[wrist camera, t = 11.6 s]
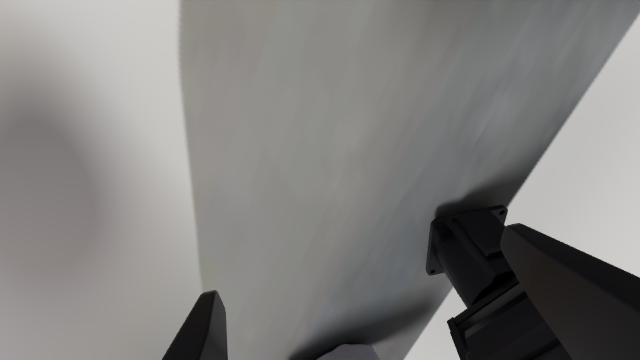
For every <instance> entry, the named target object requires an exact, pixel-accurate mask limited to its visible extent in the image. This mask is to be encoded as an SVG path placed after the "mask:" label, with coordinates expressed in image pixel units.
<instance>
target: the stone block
mask: <svg viewBox="0 0 640 360" xmlns="http://www.w3.org/2000/svg"><path fill="white" fill-rule="evenodd" d="M317 360H380V358H379V357H378V356H377V354H376V353H375V351H374V349H373V347H372V346H370V345H363V344H355V345H349V344H344V345H340V346H339V347H337V348H336V349H335V350H333V351H331V352H329V353H327V354H325V355H323V356H322V357H320V358H318V359H317Z"/></svg>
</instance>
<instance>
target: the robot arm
mask: <svg viewBox="0 0 640 360" xmlns="http://www.w3.org/2000/svg"><path fill="white" fill-rule="evenodd" d="M507 212H508V209H507V208H506V207H505V206H504V205H498V206H493V207H489V208H484V209H479V210H475V211H470V212H465V213H461V214H456V215H451V216H447V217H442V218H437V219H434V220H433V221H432V222H431V225H430V234H429V244H428V253H427V262H426V272H427V273H428V275H436V274H440V273H444V272H445V274H446V275H447V277H448V279H449V280H450V282H451V283H452V285H453V286H454V288H455V289H456V291H457V293H458V294H459V296H460V297H461V299H462V301H463V302H464V304H465V305H466V307H467V309H466V310H465V311H463V312H462V313H460V314H459V315H457V316H456V317H455V318H453V317H452V318H451V319H449V320H448V321H447V323H448V326H449V329H450V331H451V332H450V334H451V336H452V339H453V341H454V344H455V347H456V349H457V352H458V355H459V357H460V360H640V278H639V277H637V276H635V275H633V274H631V273H629V272H626V271H624V270H622V269H620V268H617V267H615V266H613V265H611V264H609V263H607V262H604V261H602V260H600V259H598V258H595V257H593V256H591V255H589V254H587V253H585V252H582V251H580V250H578V249H576V248H574V247H571V246H569V245H567V244H565V243H563V242H560V241H558V240H556V239H554V238H552V237H549V236H547V235H545V234H543V233H541V232H538V231H536V230H534V229H532V228H530V227H527V226H525V225H523V224H520V223H517V224H512V225H508V226H505V225H504V223H505V219H506V215H507ZM162 360H228V354H227V331H226V312H225V307H224V305H223V303H222V300H221V298H220V296H219V294H218V292H217V291H216V290H213V291H208V292H204V293H202V294H201V295H200V297H199V298H198V300H197V302H196V303H195V305H194V307H193V308H192V310H191V312H190V313H189V315H188V317H187V318H186V320H185V322H184V323H183V325H182V327H181V328H180V330H179V332H178V333H177V335H176V337H175V338H174V340H173V342H172V343H171V345H170V347H169V348H168V350H167V352H166V353H165V355H164V357H163V358H162Z"/></svg>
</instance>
